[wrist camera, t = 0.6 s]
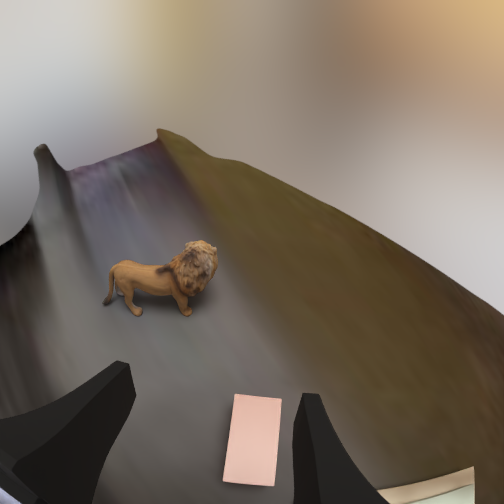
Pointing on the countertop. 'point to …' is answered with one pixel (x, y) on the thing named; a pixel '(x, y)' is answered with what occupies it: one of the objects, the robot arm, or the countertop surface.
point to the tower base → (435, 490)
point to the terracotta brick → (253, 441)
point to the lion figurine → (166, 276)
